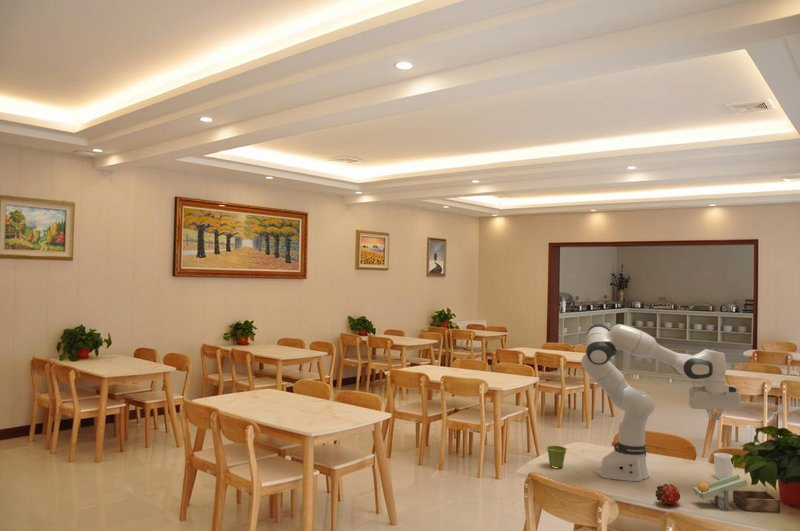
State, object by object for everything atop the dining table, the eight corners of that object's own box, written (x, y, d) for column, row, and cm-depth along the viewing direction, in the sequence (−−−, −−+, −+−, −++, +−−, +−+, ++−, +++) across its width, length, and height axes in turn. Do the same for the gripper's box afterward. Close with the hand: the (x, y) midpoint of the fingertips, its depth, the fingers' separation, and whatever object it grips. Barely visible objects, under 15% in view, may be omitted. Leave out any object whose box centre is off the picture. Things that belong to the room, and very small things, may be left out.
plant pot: (569, 465, 289) (569, 447, 290) (563, 471, 281) (563, 452, 282) (550, 462, 294) (550, 444, 295) (543, 467, 286) (543, 449, 287)
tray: (745, 511, 234) (745, 499, 234) (733, 501, 244) (733, 490, 244) (780, 512, 233) (780, 500, 233) (766, 502, 243) (766, 491, 243)
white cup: (736, 481, 268) (736, 458, 269) (716, 480, 270) (716, 457, 270) (730, 475, 276) (730, 453, 276) (711, 474, 278) (711, 452, 278)
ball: (701, 495, 238) (699, 485, 238) (697, 491, 242) (695, 481, 242) (711, 494, 238) (710, 484, 238) (707, 490, 242) (705, 480, 242)
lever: (702, 500, 237) (700, 493, 237) (689, 488, 250) (686, 481, 250) (748, 485, 236) (745, 478, 236) (732, 474, 249) (729, 467, 249)
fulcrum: (721, 510, 234) (721, 491, 235) (709, 500, 245) (709, 482, 245) (733, 510, 234) (733, 491, 234) (721, 500, 244) (721, 482, 245)
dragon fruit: (657, 511, 237) (673, 509, 245) (675, 503, 233) (691, 501, 240) (647, 489, 242) (663, 487, 249) (664, 481, 237) (680, 479, 244)
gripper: (692, 387, 258) (692, 420, 257) (742, 388, 256) (742, 421, 256) (686, 385, 264) (686, 417, 264) (735, 386, 262) (735, 418, 262)
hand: (714, 419), depth 260 cm, fingers closed
